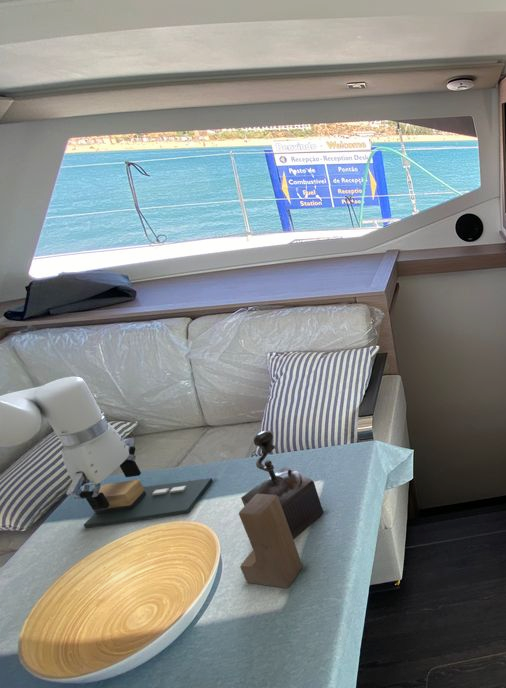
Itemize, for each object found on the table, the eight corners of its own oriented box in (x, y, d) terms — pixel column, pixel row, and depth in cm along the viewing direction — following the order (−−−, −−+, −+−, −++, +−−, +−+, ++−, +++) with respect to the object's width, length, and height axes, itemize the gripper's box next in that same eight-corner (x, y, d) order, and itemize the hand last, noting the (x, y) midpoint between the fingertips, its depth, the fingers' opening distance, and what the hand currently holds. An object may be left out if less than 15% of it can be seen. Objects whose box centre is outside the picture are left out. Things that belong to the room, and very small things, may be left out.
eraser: (95, 514, 95) (87, 499, 93) (111, 499, 99) (103, 484, 98) (132, 509, 96) (124, 494, 94) (146, 494, 100) (139, 479, 98)
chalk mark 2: (170, 493, 99) (169, 491, 99) (173, 489, 101) (172, 487, 100) (183, 491, 100) (182, 489, 99) (186, 487, 101) (185, 485, 101)
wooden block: (246, 583, 77) (214, 510, 71) (263, 561, 81) (235, 490, 75) (288, 589, 76) (259, 515, 69) (303, 566, 80) (278, 494, 73)
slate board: (85, 528, 93) (83, 524, 92) (119, 493, 102) (117, 490, 102) (188, 513, 94) (186, 509, 94) (213, 480, 104) (211, 477, 103)
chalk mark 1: (152, 495, 99) (151, 493, 99) (156, 491, 100) (155, 489, 100) (166, 493, 99) (165, 491, 99) (169, 490, 100) (168, 488, 100)
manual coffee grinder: (327, 510, 92) (308, 444, 86) (280, 550, 83) (254, 481, 77) (286, 486, 100) (265, 425, 94) (239, 521, 91) (213, 455, 85)
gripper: (98, 410, 98) (129, 466, 104) (27, 462, 82) (68, 525, 88) (131, 405, 99) (160, 462, 105) (67, 456, 82) (106, 519, 89)
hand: (118, 491), depth 96 cm, fingers open, 9 cm apart
